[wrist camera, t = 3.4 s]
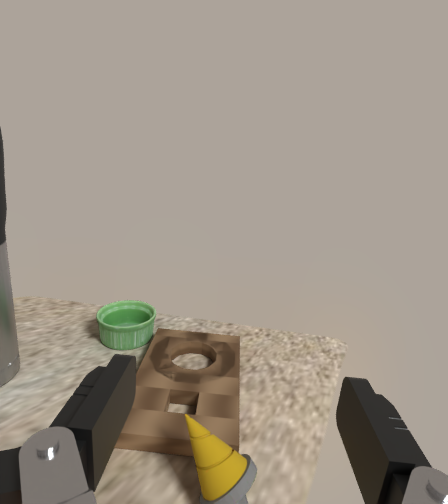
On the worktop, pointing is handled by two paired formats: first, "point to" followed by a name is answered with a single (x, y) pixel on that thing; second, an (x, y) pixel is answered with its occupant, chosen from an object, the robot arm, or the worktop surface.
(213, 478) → the drill bit
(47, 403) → the worktop surface
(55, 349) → the worktop surface
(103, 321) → the ramekin
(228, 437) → the socket board
